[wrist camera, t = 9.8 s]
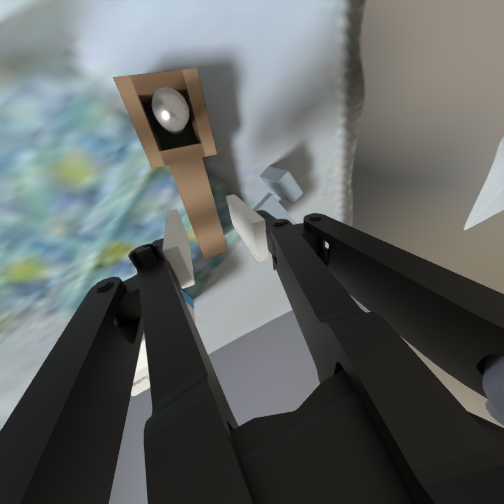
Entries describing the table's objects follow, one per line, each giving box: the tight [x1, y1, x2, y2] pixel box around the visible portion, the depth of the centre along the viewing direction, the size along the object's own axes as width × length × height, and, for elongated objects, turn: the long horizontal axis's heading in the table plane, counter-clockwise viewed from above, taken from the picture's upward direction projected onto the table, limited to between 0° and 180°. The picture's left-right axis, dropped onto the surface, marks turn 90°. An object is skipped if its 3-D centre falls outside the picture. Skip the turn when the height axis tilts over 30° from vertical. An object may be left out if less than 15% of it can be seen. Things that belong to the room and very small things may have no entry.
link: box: [113, 68, 228, 259], centre depth 23 cm, size 20×7×5 cm, turn 9°
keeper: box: [253, 166, 303, 224], centre depth 27 cm, size 8×8×8 cm
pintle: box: [152, 87, 189, 134], centre depth 18 cm, size 3×3×8 cm
